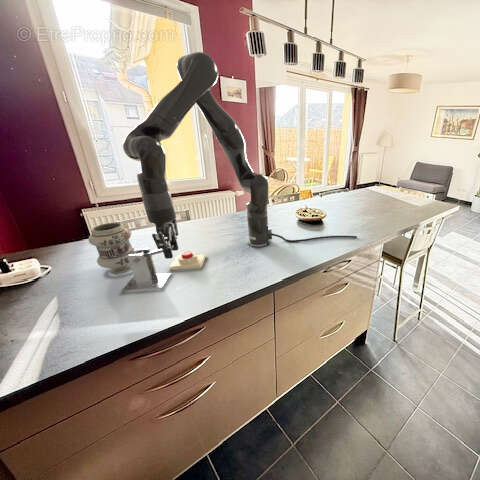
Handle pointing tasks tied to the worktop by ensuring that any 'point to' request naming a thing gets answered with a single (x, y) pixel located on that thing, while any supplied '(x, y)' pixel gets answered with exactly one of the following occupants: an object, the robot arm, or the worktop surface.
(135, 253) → the lever
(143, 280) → the bracket
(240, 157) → the robot arm
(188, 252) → the button
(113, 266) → the apothecary jar
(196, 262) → the button block
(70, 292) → the worktop surface
